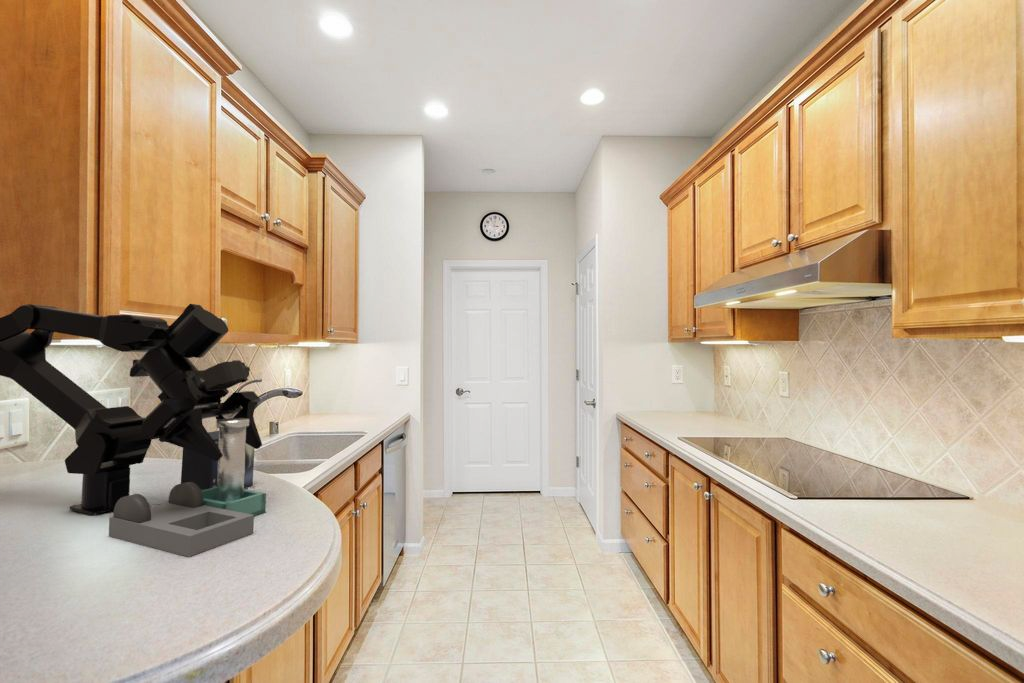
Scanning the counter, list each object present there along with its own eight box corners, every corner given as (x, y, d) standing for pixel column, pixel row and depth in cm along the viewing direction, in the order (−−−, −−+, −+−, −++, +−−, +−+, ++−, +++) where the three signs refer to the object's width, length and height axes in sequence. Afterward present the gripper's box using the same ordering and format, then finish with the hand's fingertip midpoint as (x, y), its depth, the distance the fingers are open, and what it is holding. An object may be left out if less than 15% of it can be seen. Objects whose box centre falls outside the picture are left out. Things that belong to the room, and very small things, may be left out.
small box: (210, 501, 82) (212, 438, 82) (177, 498, 83) (180, 436, 83) (255, 485, 92) (257, 430, 92) (225, 483, 93) (227, 428, 94)
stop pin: (206, 515, 73) (210, 421, 73) (224, 506, 77) (227, 417, 78) (235, 516, 73) (239, 422, 73) (251, 507, 77) (255, 418, 78)
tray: (179, 515, 74) (180, 495, 74) (220, 503, 80) (221, 485, 81) (225, 525, 70) (226, 504, 71) (265, 512, 77) (266, 493, 77)
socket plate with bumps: (108, 536, 66) (110, 493, 66) (176, 516, 74) (178, 479, 74) (189, 557, 59) (191, 510, 60) (253, 533, 68) (254, 492, 68)
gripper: (165, 340, 67) (236, 424, 65) (252, 344, 85) (309, 410, 84) (110, 396, 68) (179, 481, 66) (208, 388, 86) (264, 454, 84)
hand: (240, 452), depth 75 cm, fingers open, 9 cm apart
